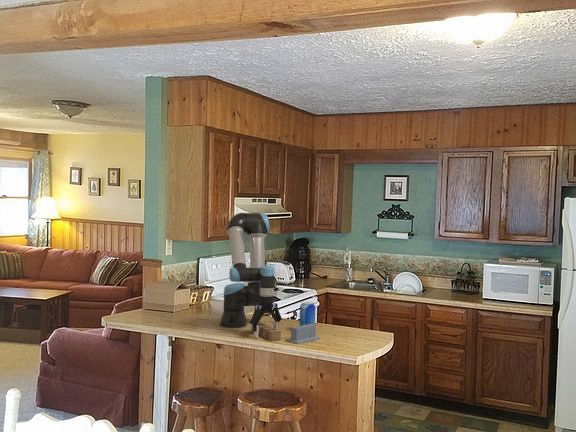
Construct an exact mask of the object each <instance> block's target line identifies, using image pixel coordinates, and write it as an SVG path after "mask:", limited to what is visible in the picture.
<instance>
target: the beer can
mask: <svg viewBox="0 0 576 432" xmlns="http://www.w3.org/2000/svg"><path fill="white" fill-rule="evenodd" d="M307 324H313V325H316V305H315V303H314V301H313V302H312V301H302V302H301V304H300V306H299V326H302V325H307Z"/></svg>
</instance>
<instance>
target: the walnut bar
mask: <svg viewBox="0 0 576 432" xmlns="http://www.w3.org/2000/svg"><path fill="white" fill-rule="evenodd" d="M257 325H259V326H258V336H260V337H262V338H264V339H265V340H268V341H270V342H272V341H273V342H280V341H279V340H281V338H282V337H281V335H282V333H281V331H280V330H279V329H278V330H276V329H274V328H273V326H272V327H271V326H269V325H268V324H265V323H264V322H260V321H259V323H258V324H257ZM251 332H252V333H254V331H253V325H252V324H251Z"/></svg>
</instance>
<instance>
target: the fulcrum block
mask: <svg viewBox="0 0 576 432" xmlns="http://www.w3.org/2000/svg"><path fill="white" fill-rule="evenodd" d="M316 333H317V325H316V324H315V325H313V324H307V325H302V326H300V325H298V326H292V327H291V328H290V338H286V341H287V342H288V343H291V344H296V345H301V344H305V343H310V342H314V341H320V340H321V337H320V336H317V334H316Z"/></svg>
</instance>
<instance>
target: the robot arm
mask: <svg viewBox="0 0 576 432" xmlns="http://www.w3.org/2000/svg"><path fill="white" fill-rule="evenodd" d="M226 233H227V236H228V238H229V245H230V255H231V265H232V267H231V268H229V274H228V275H229V280H230V282H232V283H230V284H227V285H225V286H224V289H223V310H222V311H223V312H222V315H221V318H220V319H219V321H220V322H219V324H220V326H221V327H224V328H242V327H244V328H245V327H246V326H247V325H248V320H247V317H246V313H245V307H254V311H253V314H252V317H251V319H250V322H249V324H250V325H251V326H252V325H253V331H254V332H253V338H256V339H258V338H259V335H258V326H259V325H257V324H258V323H259V322H260V321H261V319H262V317H263V316H264V315H265V314H270V316H271V317H272V319H273V322H272V324H273V326H272V328H274V329H276V330H278V331H279V329H278V328H279V323H280V322H281V321H282V320H283V318H282V315H281V313H280V311H279V308H278V303H275V302H274V301H275V296H274V295H275V274H276V273H275V267H274V266H273V265H266V260H265V259H266V258H265V255H266V253H265V252H266V251H265V238H266V237H267V234H268V233H270V221H269V217H268V215H267V214H266V213H264V212H263V213H262V212H239V213H236V214H235V215H233V216H232V217H231V218H230V219H229V221H228V223H227V226H226ZM244 234H246V237H247V238H248V239H249V267H247V260H246V252H245V251H246V250H245V245H244V244H245V243H244V237H243V236H244ZM233 282H234V283H233ZM244 282H247V285H246V284H245V283H244Z"/></svg>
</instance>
